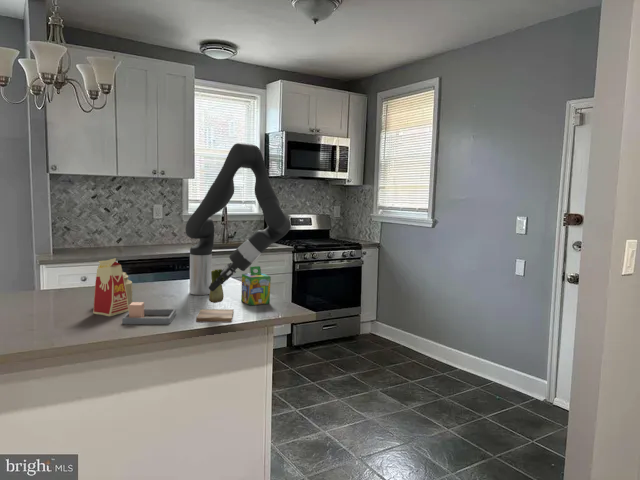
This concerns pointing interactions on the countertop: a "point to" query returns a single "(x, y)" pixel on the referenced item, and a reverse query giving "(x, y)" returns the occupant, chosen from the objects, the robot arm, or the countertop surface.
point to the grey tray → (151, 320)
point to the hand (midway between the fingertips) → (211, 287)
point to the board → (215, 315)
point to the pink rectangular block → (136, 310)
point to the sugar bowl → (128, 288)
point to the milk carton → (110, 289)
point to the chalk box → (255, 287)
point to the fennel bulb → (218, 292)
